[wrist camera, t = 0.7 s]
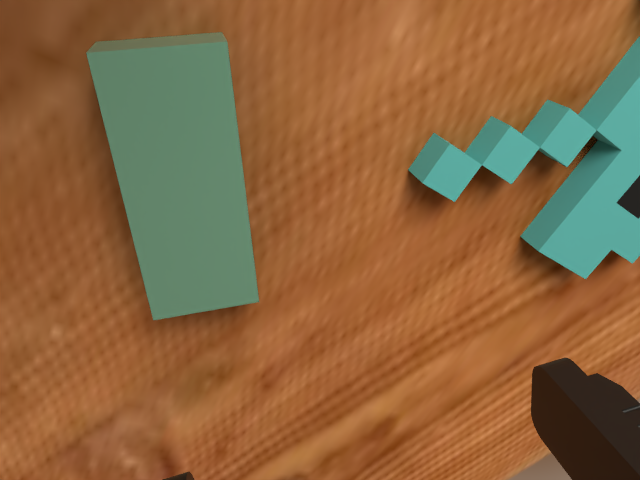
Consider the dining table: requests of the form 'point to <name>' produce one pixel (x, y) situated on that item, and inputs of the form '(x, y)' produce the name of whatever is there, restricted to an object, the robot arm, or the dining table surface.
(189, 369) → the dining table surface
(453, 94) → the dining table surface
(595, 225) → the alien figure
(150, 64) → the green block
